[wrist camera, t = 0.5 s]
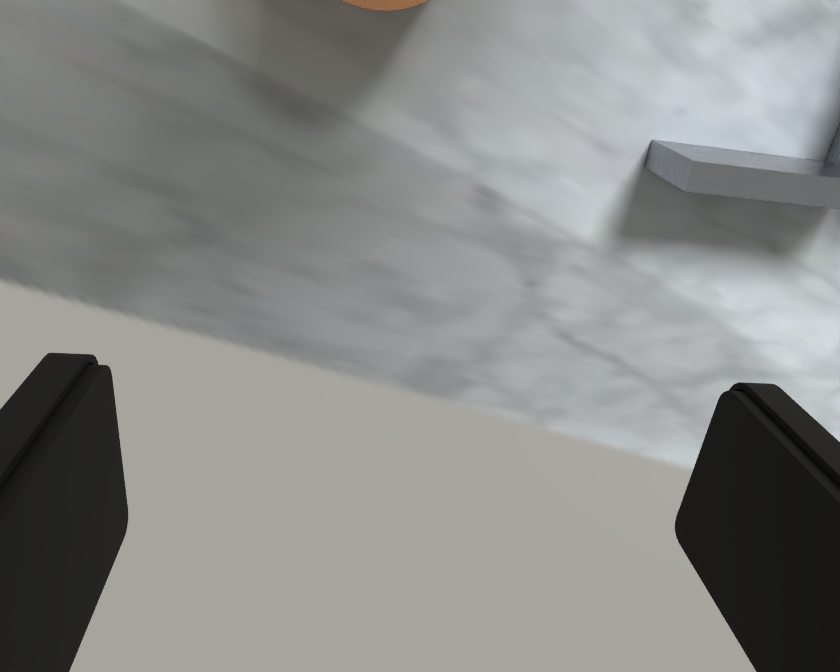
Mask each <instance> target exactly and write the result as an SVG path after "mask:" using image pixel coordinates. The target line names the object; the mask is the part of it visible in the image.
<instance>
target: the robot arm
mask: <svg viewBox="0 0 840 672" xmlns="http://www.w3.org/2000/svg"><path fill="white" fill-rule="evenodd" d="M127 523H128V506H127V498H126V489H125V481H124V473H123V465H122V456H121V448H120V439H119V431H118V422H117V414H116V406H115V397H114V389H113V381H112V374H111V370H110V368H109V366H107V365H98V361H97V359H96V357H95V356H94V355H90V354H66V353H65V354H64V353H48V354H47V355H46V356H45V357H44V358H43V359H42V360H41V362H40V363H39V364H38V365H37V366H36V368H35V369H34V370H33V371H32V372H31V373H30V375H29V376H28V377H27V378H26V380H25V381H24V382H23V383H22V384H21V385H20V387H19V388H18V389H17V390H16V392H15V393H14V394H13V395H12V396H11V397H10V399H9V400H8V401H7V403H5V405H4V406H3V407H2V408H1V409H0V672H69V671H70V668H71V666H72V663H73V661H74V658H75V656H76V653H77V651H78V649H79V646H80V644H81V641H82V639H83V636H84V634H85V631H86V629H87V627H88V624H89V622H90V619H91V617H92V614H93V612H94V610H95V607H96V605H97V602H98V600H99V598H100V595H101V593H102V590H103V588H104V585H105V583H106V581H107V578H108V576H109V573H110V571H111V568H112V566H113V564H114V561H115V559H116V556H117V554H118V551H119V549H120V546H121V544H122V542H123V539H124V536H125V534H126V529H127ZM675 532H676V536H677V539H678V542H679V544H680V545H681V547H682V548H683V550H684V552H685V554H686V555H687V557H688V559H689V560H690V562H691V564H692V565H693V567H694V569H695V570H696V572H697V574H698V575H699V577H700V578H701V580H702V582H703V583H704V585H705V587H706V588H707V590H708V592H709V593H710V595H711V597H712V598H713V600H714V602H715V603H716V605H717V607H718V608H719V610H720V612H721V613H722V615H723V617H724V618H725V620H726V622H727V623H728V625H729V626H730V628H731V630H732V632H733V633H734V635H735V637H736V638H737V640H738V642H739V643H740V645H741V647H742V648H743V650H744V652H745V653H746V655H747V657H748V658H749V660H750V662H751V663H752V665H753V666H754V668H755V670H756V672H840V442H839V441H838V440H837V439H836V438H834V437H833V436H832V435H831V434H830V433H829V432H828V431H827V430H826V429H825V428H823V427H822V426H821V425H820V424H819V423H818V422H817V421H816V420H815V419H814V418H813V417H811V416H810V415H809V414H808V413H807V412H806V411H805V410H804V409H803V408H802V407H801V406H799V405H798V404H797V403H796V402H795V401H794V400H793V399H792V398H791V397H790V396H788V395H787V394H786V393H785V392H784V391H783V390H782V389H781V388H780V387H778V386H776V385H775V384H762V383H736V384H734V385H733V386H732V387H731V388H730V390H729V391H726V392H724V393H723V394H722V395H721V396H720V398H719V400H718V402H717V405H716V408H715V411H714V414H713V416H712V419H711V422H710V425H709V428H708V430H707V433H706V436H705V439H704V441H703V444H702V447H701V450H700V453H699V455H698V458H697V461H696V464H695V467H694V469H693V472H692V475H691V478H690V481H689V484H688V486H687V489H686V492H685V495H684V497H683V500H682V503H681V506H680V509H679V511H678V514H677V517H676V521H675Z"/></svg>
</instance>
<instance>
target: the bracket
mask: <svg viewBox="0 0 840 672" xmlns="http://www.w3.org/2000/svg"><path fill="white" fill-rule="evenodd" d="M342 1H344V2H347V3H349V4H352V5H354V6H358V7H362V8H365V9H372V10H385V11H390V10H400V9H405V8H409V7H413V6H416V5H419V4H421V3H424V2H426V1H428V0H342Z"/></svg>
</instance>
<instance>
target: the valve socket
mask: <svg viewBox="0 0 840 672" xmlns="http://www.w3.org/2000/svg"><path fill="white" fill-rule="evenodd" d="M645 168H646V169H648V170H650V171H651V172H653V173H655V174H656V175H658V176H660V177H661V178H663V179H665V180H666V181H668V182H669V183H671V184H673V185H674V186H676V187H678V188H679V189H681V190H683V191H684V192H693V193H702V194H710V195H719V196H728V197H737V198H745V199H754V200H763V201H772V202H780V203H789V204H798V205H807V206H816V207H824V208H833V209H840V126H839V128H838V131H837V133H836V136H835V138H834V140H833V143H832V145H831V148H830V150H829V153H828V155H827V158H826V160H825V161H817V160H809V159H801V158H793V157H785V156H777V155H769V154H761V153H753V152H745V151H737V150H729V149H721V148H713V147H705V146H697V145H689V144H681V143H673V142H665V141H657V140H652V142H651V146H650V149H649V153H648V156H647V160H646V163H645Z"/></svg>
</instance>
